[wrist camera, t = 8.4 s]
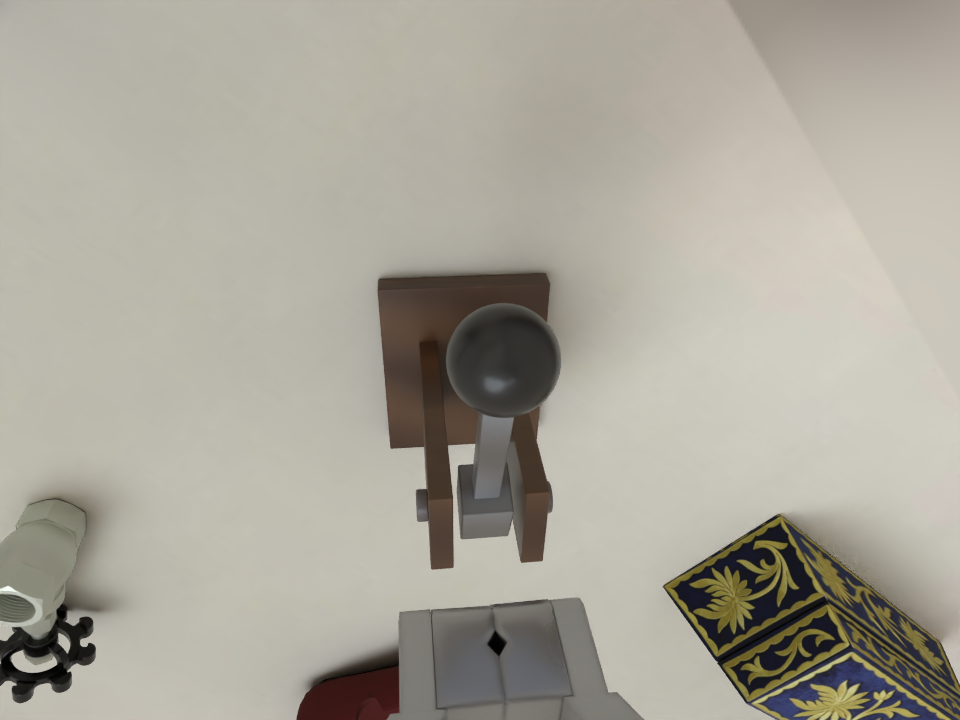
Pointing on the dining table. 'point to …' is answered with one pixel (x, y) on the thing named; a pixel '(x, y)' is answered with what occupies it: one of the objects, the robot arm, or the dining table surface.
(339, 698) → the ashtray
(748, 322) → the dining table surface
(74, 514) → the valve
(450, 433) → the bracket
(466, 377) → the lever
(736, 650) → the decorative box
